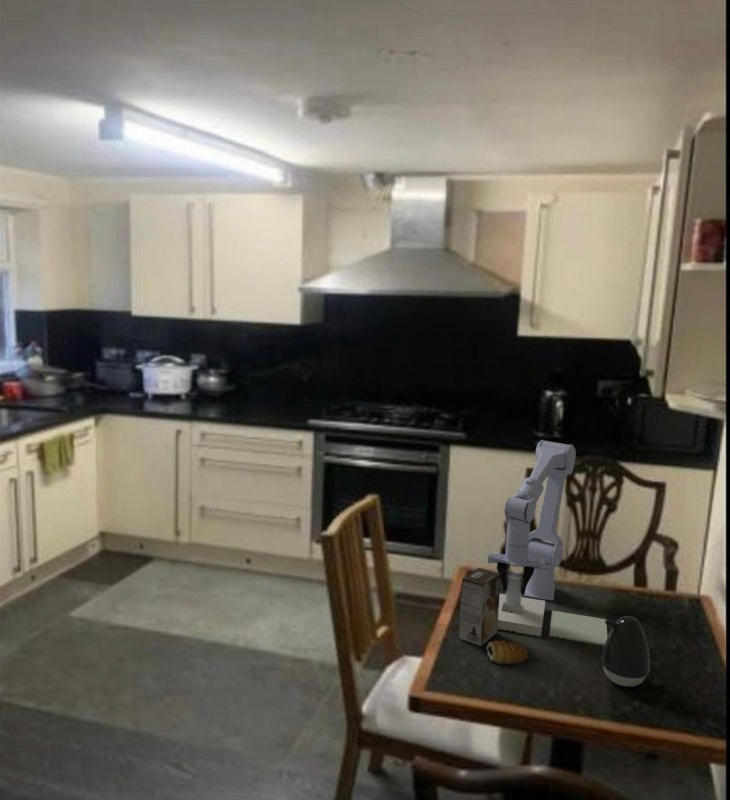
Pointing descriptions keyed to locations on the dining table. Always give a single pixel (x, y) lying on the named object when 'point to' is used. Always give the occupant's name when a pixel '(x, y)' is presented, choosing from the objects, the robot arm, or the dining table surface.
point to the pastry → (506, 652)
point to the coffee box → (479, 606)
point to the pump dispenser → (626, 652)
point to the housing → (521, 616)
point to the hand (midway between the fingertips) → (513, 591)
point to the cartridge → (514, 588)
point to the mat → (578, 628)
